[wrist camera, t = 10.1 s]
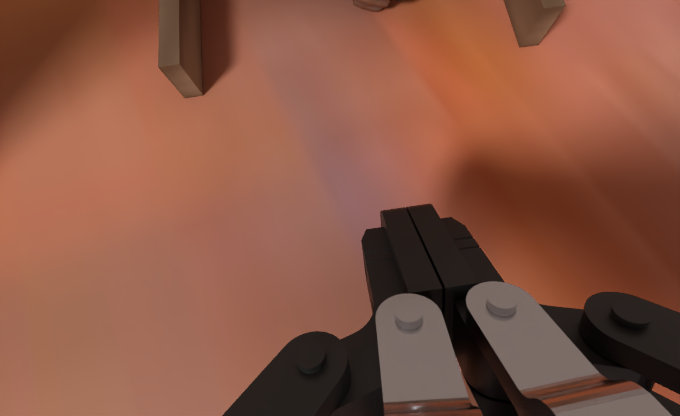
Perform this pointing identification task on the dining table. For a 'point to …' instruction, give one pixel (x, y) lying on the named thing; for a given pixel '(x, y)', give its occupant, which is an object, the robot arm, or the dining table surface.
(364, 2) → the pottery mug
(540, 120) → the dining table surface
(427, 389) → the robot arm
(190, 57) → the wooden corral
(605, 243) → the dining table surface
